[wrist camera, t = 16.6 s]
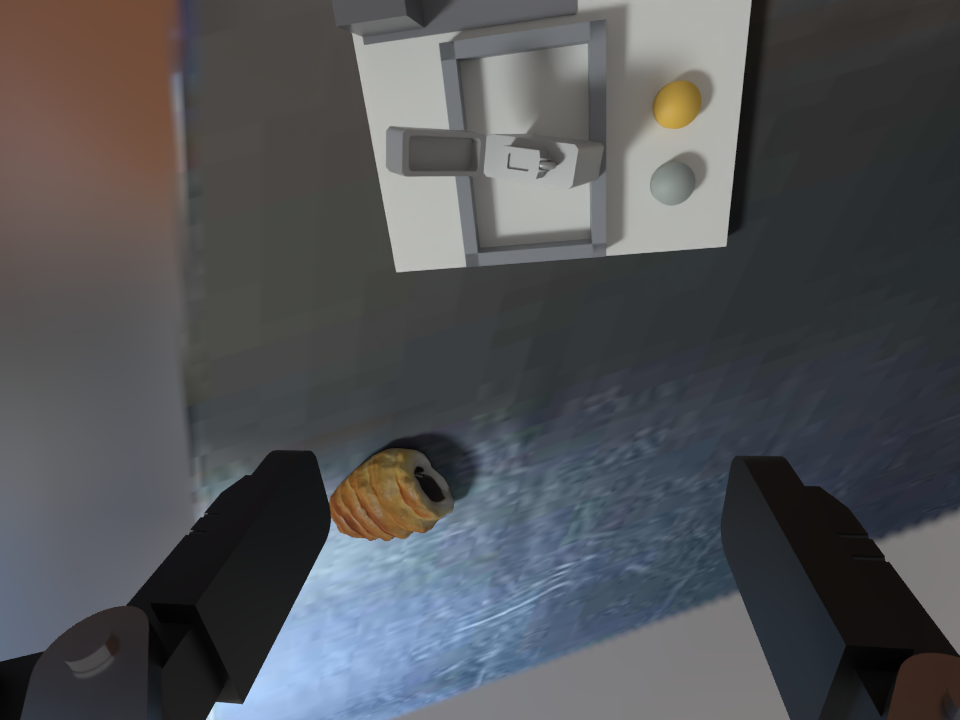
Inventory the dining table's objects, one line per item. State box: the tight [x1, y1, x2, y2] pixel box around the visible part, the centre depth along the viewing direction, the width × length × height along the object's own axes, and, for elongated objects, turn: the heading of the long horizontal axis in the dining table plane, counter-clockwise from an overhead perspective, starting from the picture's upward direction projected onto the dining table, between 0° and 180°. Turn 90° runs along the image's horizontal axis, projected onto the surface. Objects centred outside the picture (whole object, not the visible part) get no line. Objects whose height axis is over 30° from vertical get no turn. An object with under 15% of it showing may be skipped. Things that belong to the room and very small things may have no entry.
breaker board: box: [352, 0, 752, 272], centre depth 24 cm, size 18×16×2 cm
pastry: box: [329, 448, 454, 541], centre depth 37 cm, size 9×7×4 cm
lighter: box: [386, 126, 604, 189], centre depth 22 cm, size 7×2×8 cm, turn 85°
